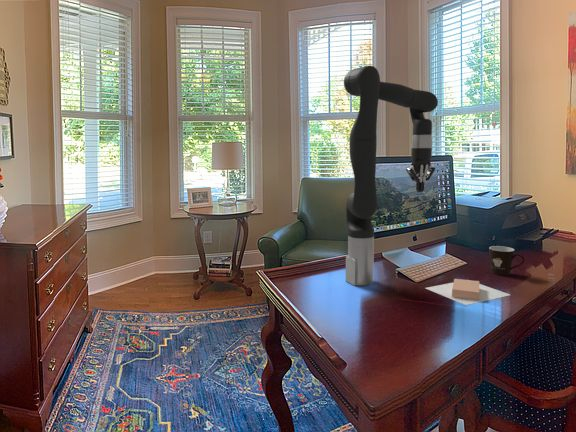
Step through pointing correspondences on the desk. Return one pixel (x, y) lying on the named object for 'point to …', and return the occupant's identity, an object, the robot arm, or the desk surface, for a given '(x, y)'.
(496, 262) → the coffee mug
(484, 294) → the mat
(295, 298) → the desk surface
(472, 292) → the beige rectangular box
